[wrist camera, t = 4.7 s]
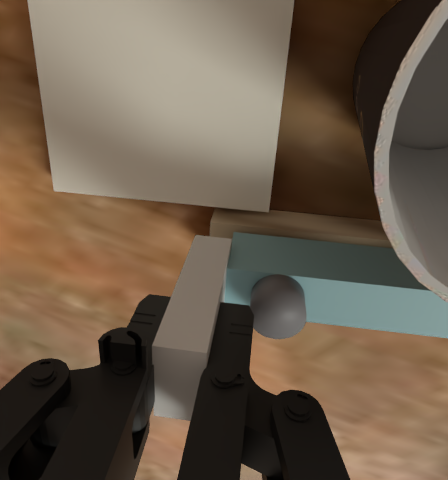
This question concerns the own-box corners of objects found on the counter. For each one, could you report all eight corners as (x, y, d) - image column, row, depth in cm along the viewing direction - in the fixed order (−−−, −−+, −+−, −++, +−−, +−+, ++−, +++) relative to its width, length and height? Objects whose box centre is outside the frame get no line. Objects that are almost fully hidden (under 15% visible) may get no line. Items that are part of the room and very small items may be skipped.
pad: (63, 183, 21) (53, 190, 20) (31, -69, 16) (17, -74, 15) (268, 203, 20) (268, 212, 19) (299, -54, 15) (301, -58, 14)
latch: (230, 271, 19) (219, 332, 15) (233, 231, 18) (222, 286, 14) (554, 306, 18) (625, 380, 14) (575, 267, 17) (656, 335, 14)
